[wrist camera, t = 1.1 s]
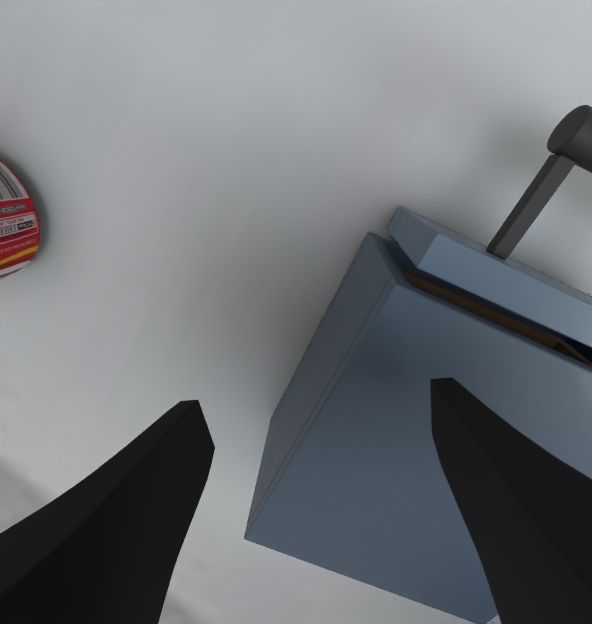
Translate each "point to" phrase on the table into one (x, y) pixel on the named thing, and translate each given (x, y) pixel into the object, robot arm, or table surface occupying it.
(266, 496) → the cabinet
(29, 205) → the soda can
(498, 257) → the drawer
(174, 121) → the table surface
